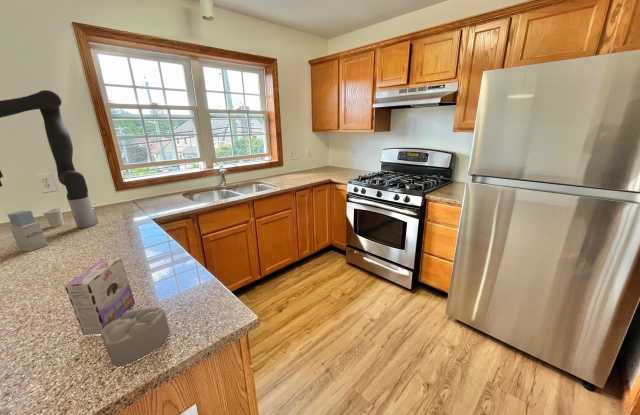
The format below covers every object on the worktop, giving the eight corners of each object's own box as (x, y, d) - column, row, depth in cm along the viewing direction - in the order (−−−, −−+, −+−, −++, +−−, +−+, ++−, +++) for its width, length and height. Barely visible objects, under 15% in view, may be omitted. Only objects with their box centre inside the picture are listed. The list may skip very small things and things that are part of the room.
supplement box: (30, 251, 126) (20, 227, 122) (19, 251, 127) (8, 226, 123) (48, 245, 133) (39, 221, 129) (37, 244, 134) (28, 221, 130)
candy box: (116, 304, 84) (101, 258, 79) (136, 303, 84) (122, 257, 79) (83, 338, 70) (62, 285, 65) (106, 335, 71) (87, 283, 66)
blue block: (26, 222, 129) (21, 210, 127) (35, 222, 128) (31, 210, 126) (12, 226, 124) (7, 214, 122) (22, 226, 123) (17, 214, 121)
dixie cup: (65, 226, 159) (59, 210, 156) (46, 229, 155) (40, 213, 152) (68, 222, 166) (62, 207, 163) (50, 225, 162) (44, 210, 158)
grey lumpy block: (106, 351, 66) (95, 322, 63) (162, 321, 75) (155, 296, 73) (117, 374, 59) (106, 344, 57) (176, 339, 69) (169, 311, 66)
